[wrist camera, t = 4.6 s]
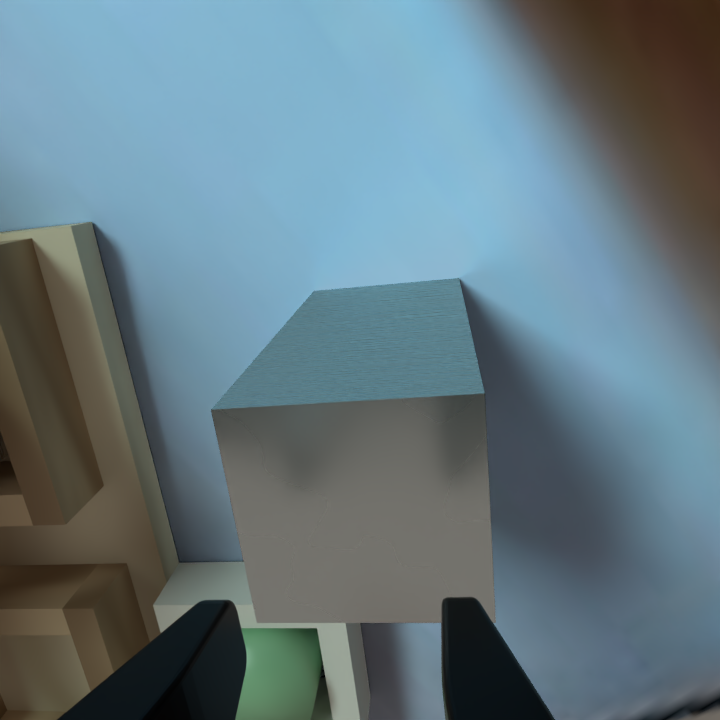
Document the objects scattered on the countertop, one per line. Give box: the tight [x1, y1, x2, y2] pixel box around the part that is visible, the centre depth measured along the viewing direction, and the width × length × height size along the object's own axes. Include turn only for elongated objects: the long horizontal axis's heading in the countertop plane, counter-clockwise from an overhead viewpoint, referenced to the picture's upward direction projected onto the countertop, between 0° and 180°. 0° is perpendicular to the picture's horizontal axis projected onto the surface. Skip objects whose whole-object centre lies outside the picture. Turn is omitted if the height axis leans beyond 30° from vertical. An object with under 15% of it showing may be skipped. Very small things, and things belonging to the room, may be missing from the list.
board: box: [0, 222, 179, 720], centre depth 18 cm, size 10×19×3 cm, turn 6°
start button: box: [235, 628, 323, 720], centre depth 19 cm, size 4×4×2 cm
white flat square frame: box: [153, 562, 371, 720], centre depth 19 cm, size 6×6×2 cm
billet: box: [211, 278, 496, 623], centre depth 13 cm, size 4×4×8 cm
